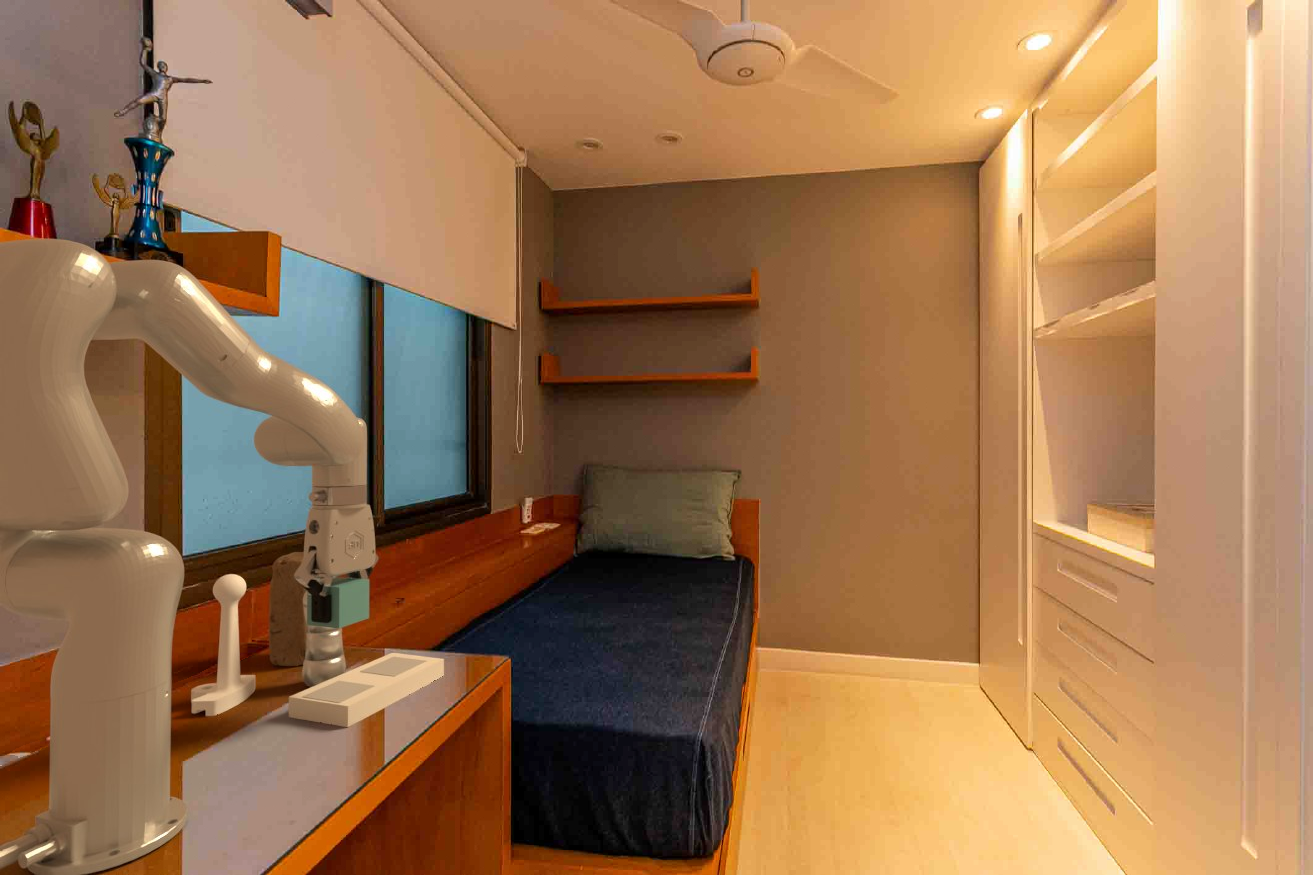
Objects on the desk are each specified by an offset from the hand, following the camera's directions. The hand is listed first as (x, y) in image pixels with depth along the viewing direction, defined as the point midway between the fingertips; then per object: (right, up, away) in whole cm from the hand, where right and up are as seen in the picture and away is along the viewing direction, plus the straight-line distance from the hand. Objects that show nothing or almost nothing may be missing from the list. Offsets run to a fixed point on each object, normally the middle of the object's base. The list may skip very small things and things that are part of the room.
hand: (339, 614), depth 99 cm
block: (-19, -15, +24) cm, 34 cm away
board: (+2, -15, +6) cm, 16 cm away
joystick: (-21, -15, +4) cm, 26 cm away
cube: (0, -1, 0) cm, 1 cm away
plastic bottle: (-8, -15, +11) cm, 20 cm away
